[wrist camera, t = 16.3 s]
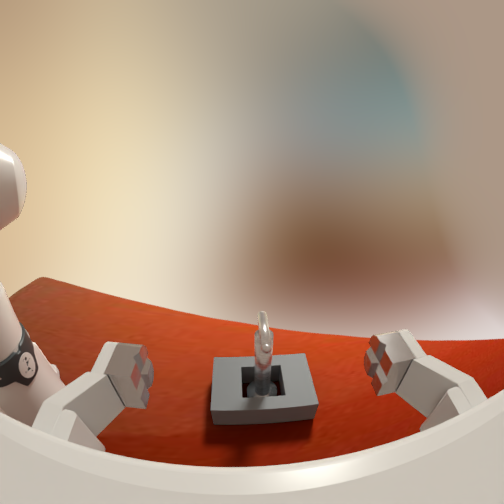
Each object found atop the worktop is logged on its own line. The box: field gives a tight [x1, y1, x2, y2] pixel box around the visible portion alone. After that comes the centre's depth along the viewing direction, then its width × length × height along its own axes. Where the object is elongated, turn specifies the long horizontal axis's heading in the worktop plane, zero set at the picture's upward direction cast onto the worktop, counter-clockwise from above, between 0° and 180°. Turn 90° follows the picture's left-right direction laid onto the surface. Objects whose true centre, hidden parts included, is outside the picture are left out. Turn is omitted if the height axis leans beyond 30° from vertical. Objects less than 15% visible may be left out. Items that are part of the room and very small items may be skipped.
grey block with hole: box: [211, 353, 318, 425], centre depth 36 cm, size 14×10×4 cm
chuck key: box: [247, 311, 277, 398], centre depth 34 cm, size 4×7×14 cm, turn 3°
